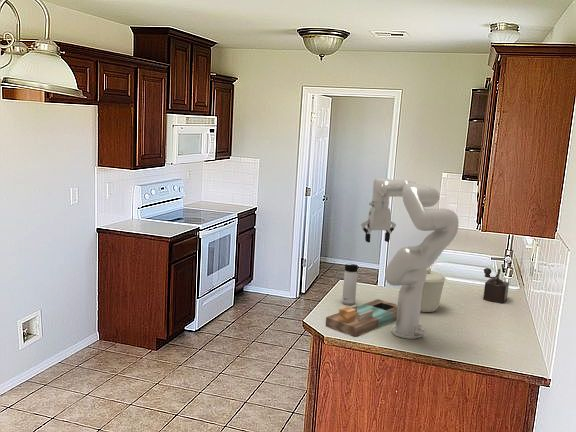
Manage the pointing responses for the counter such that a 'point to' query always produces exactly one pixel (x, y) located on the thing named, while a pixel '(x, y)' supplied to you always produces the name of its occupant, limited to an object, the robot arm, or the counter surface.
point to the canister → (431, 291)
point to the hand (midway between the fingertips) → (377, 241)
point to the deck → (365, 318)
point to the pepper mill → (495, 288)
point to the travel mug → (350, 284)
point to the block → (346, 314)
